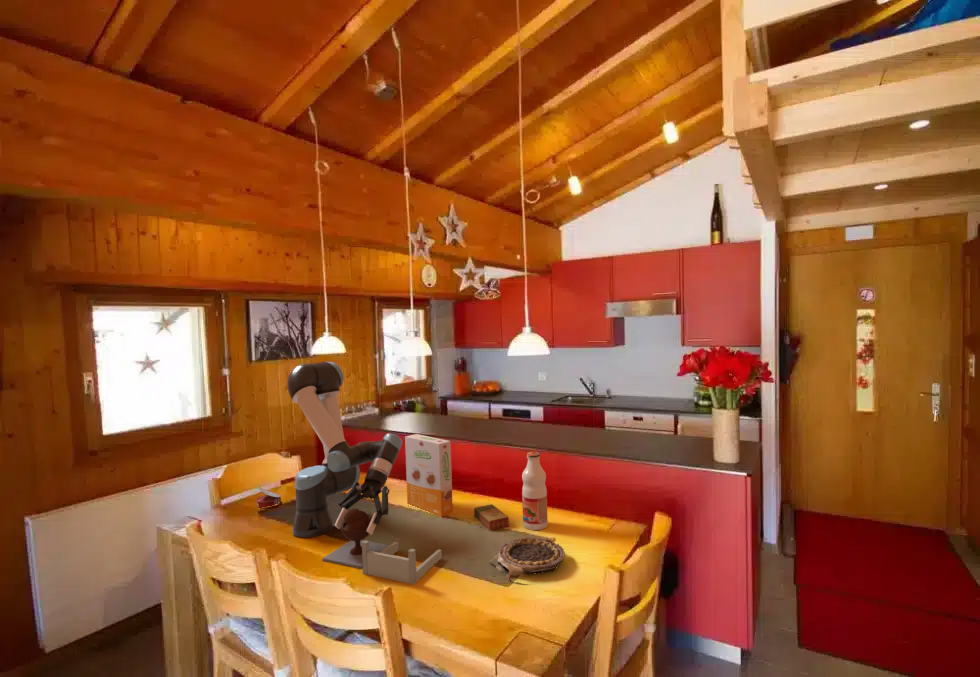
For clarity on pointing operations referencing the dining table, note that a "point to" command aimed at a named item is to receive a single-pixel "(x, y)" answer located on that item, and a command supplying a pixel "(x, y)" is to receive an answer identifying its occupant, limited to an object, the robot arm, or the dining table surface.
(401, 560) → the open crate
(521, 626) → the dining table surface
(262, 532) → the dining table surface
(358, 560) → the slate mat
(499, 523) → the carton
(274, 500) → the canned food
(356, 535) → the ice cream bowl
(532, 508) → the fruit juice
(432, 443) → the cereal box
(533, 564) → the pie
